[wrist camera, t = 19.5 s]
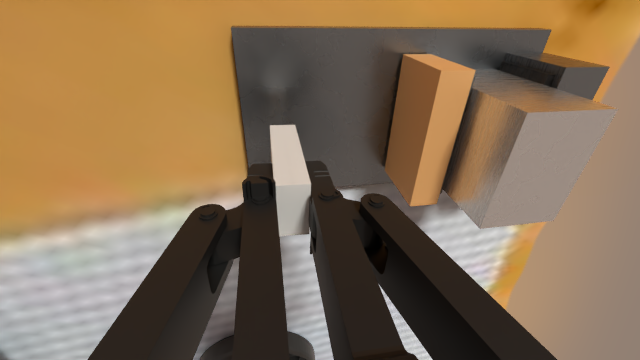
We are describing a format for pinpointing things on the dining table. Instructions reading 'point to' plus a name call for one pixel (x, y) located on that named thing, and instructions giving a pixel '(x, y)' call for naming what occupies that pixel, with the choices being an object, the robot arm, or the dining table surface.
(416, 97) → the block
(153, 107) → the dining table surface
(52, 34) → the dining table surface
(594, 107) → the steel block
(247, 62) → the vise
